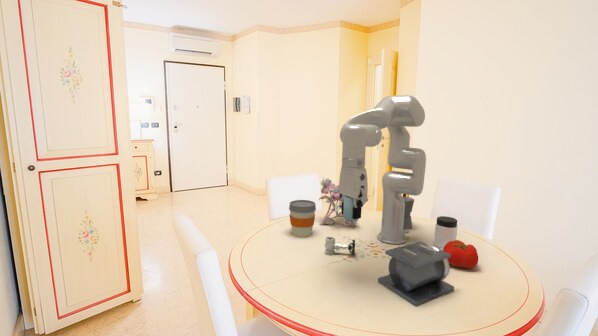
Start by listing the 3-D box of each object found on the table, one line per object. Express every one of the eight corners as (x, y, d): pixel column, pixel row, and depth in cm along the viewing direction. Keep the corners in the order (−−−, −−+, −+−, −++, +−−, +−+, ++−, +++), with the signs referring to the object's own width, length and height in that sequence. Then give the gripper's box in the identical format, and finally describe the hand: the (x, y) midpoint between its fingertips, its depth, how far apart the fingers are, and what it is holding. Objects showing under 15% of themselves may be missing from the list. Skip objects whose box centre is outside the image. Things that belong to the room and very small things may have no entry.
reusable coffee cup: (319, 232, 155) (320, 202, 153) (306, 240, 145) (307, 208, 142) (298, 227, 162) (298, 198, 159) (283, 235, 151) (283, 204, 149)
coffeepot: (412, 232, 157) (415, 196, 154) (392, 230, 160) (394, 195, 157) (411, 222, 172) (414, 189, 169) (393, 221, 174) (395, 188, 171)
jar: (438, 239, 148) (440, 214, 147) (457, 244, 143) (459, 218, 141) (431, 245, 142) (434, 219, 140) (451, 250, 137) (454, 223, 135)
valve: (324, 256, 129) (354, 258, 128) (324, 240, 128) (355, 243, 127) (325, 249, 136) (354, 251, 134) (325, 234, 135) (354, 236, 133)
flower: (335, 234, 149) (356, 184, 151) (302, 217, 165) (321, 173, 167) (357, 241, 163) (375, 196, 165) (324, 225, 179) (342, 184, 181)
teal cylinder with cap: (352, 214, 113) (353, 190, 112) (361, 219, 109) (363, 194, 107) (340, 217, 111) (340, 192, 109) (349, 221, 106) (350, 195, 105)
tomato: (434, 260, 128) (435, 239, 126) (458, 255, 132) (460, 236, 130) (459, 275, 116) (462, 252, 114) (485, 269, 120) (488, 248, 119)
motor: (414, 270, 119) (417, 236, 117) (453, 290, 105) (457, 253, 103) (377, 282, 110) (380, 245, 108) (415, 306, 96) (419, 265, 94)
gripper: (380, 166, 101) (377, 221, 104) (346, 159, 116) (344, 208, 119) (361, 167, 97) (358, 225, 100) (329, 160, 112) (327, 211, 115)
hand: (351, 215), depth 109 cm, fingers closed on teal cylinder with cap, 5 cm apart
